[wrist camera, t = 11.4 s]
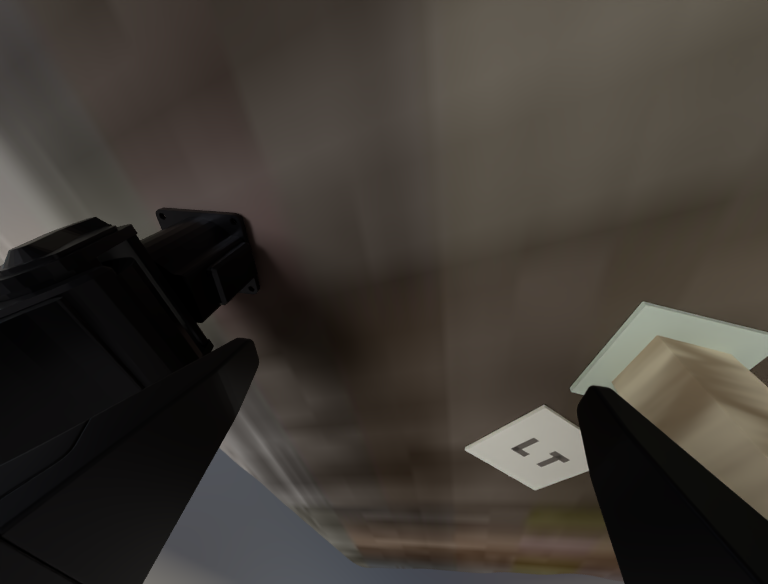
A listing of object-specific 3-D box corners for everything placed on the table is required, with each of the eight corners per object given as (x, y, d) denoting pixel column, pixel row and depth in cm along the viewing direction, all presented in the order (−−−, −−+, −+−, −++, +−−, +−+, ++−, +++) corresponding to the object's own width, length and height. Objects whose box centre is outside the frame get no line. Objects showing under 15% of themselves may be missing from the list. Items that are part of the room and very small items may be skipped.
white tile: (464, 447, 32) (465, 450, 31) (544, 404, 26) (545, 407, 26) (534, 487, 33) (534, 490, 33) (621, 455, 28) (623, 458, 28)
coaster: (569, 388, 25) (571, 391, 24) (642, 301, 20) (646, 304, 19) (679, 416, 24) (682, 421, 24) (782, 335, 19) (788, 340, 19)
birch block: (611, 382, 23) (736, 596, 13) (657, 335, 20) (859, 562, 10) (676, 399, 23) (851, 628, 13) (731, 354, 20) (1006, 602, 10)
